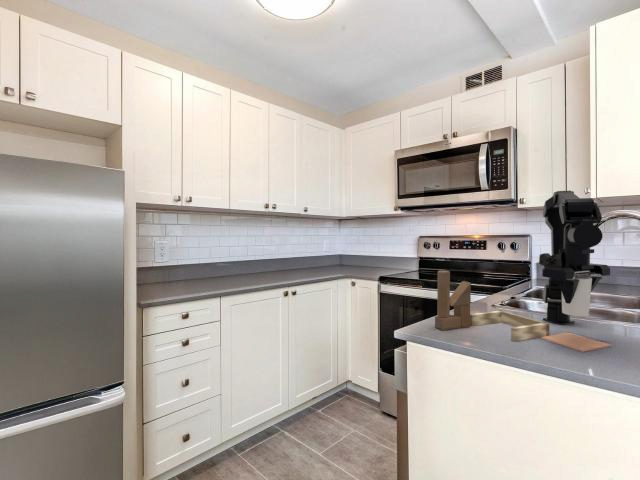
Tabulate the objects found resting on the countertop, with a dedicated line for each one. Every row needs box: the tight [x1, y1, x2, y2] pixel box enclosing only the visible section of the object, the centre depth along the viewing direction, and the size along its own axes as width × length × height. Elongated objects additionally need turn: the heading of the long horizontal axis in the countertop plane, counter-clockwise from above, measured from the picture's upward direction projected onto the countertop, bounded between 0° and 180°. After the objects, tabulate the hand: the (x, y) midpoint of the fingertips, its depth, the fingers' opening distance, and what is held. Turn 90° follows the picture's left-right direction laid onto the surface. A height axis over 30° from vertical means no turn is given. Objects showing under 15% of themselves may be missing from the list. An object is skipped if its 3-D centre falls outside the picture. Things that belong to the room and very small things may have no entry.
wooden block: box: [434, 269, 472, 331], centre depth 105 cm, size 4×11×18 cm, turn 108°
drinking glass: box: [562, 276, 592, 317], centre depth 91 cm, size 7×7×10 cm
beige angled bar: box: [470, 310, 550, 342], centre depth 102 cm, size 14×16×4 cm
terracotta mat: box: [540, 332, 612, 353], centre depth 91 cm, size 11×11×1 cm
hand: (575, 302), depth 91 cm, fingers closed on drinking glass, 5 cm apart
